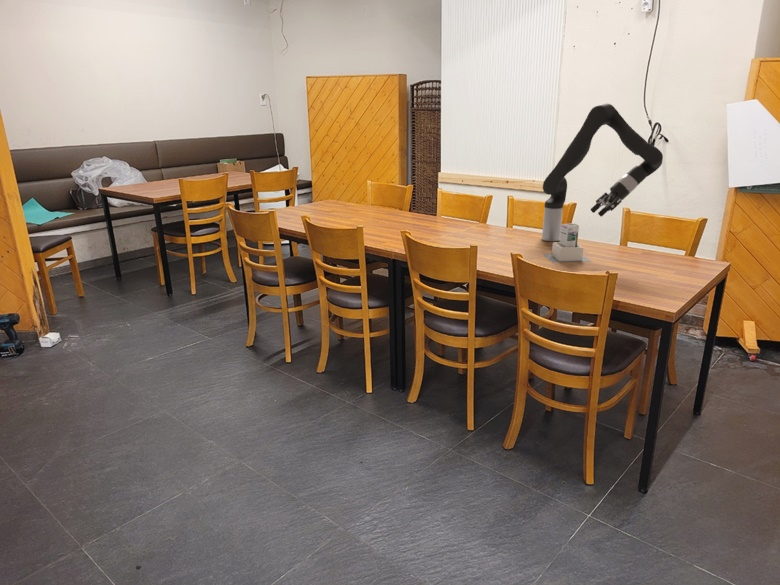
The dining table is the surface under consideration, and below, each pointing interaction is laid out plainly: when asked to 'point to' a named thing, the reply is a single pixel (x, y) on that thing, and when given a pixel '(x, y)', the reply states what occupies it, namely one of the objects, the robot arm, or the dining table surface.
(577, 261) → the slate board
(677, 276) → the dining table surface
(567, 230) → the syrup box
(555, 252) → the ceramic holder
